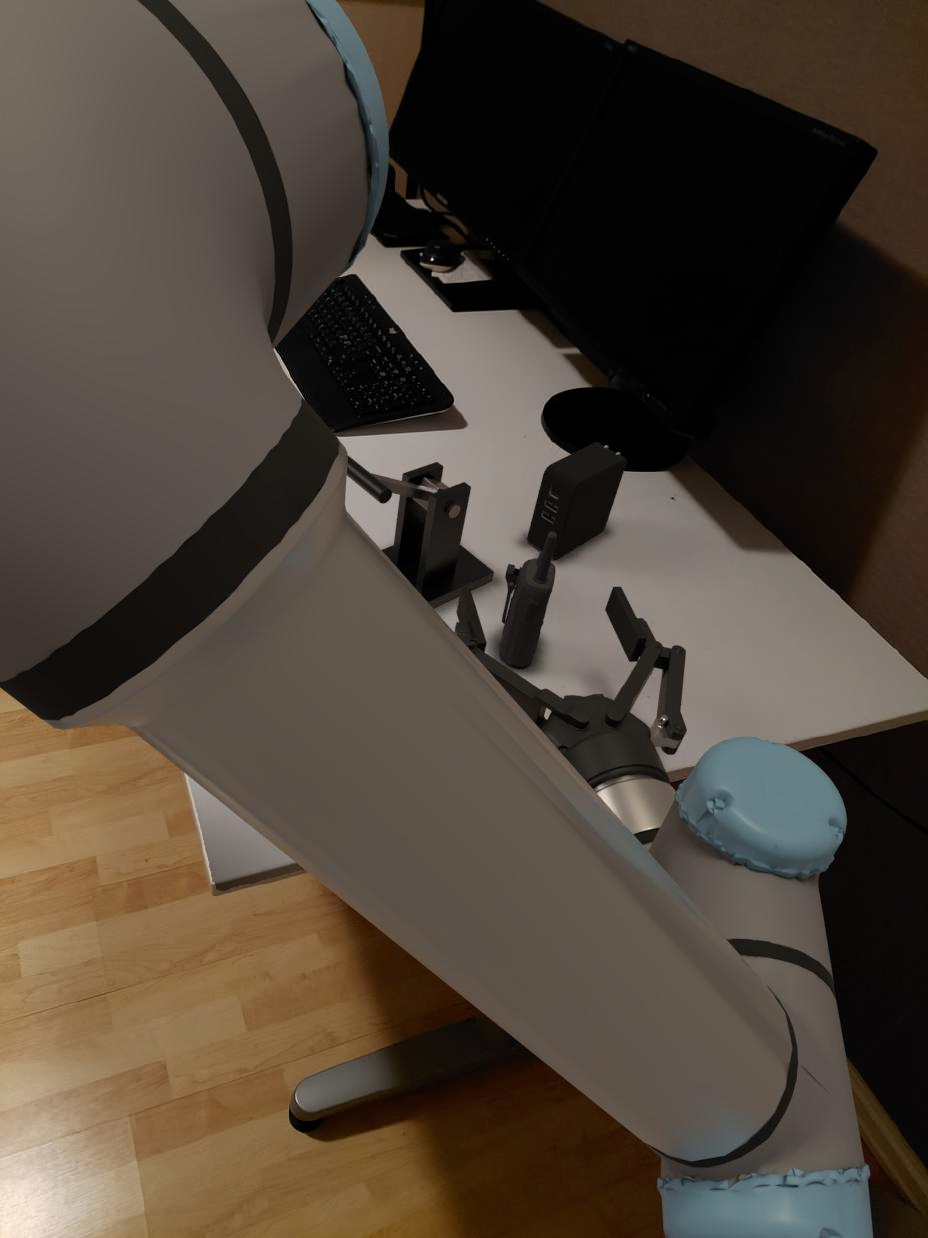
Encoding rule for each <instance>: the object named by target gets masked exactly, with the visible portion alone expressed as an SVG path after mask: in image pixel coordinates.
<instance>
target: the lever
mask: <svg viewBox="0 0 928 1238" xmlns="http://www.w3.org/2000/svg"><path fill="white" fill-rule="evenodd" d="M347 478H349V479H350V480H352V481H353V482H354V483H355V484H357V485H358V486H359V487H360V488H361V489H363V490H364V491H365V492H366V493H367V494H369V495H370V496H371V497H372V498H374V499H375V500H376V501H377V503H379V504H381V505H382V504H383V505H385V504H386V503H389V501H390V500H391V499H392V497H393V494H394V495H398V496H400V495H403V496H407V497H411V498H413V500H415V501H416V502H417V503H418V504H420V505H421V506H422V507H423V508H425V509H426V510H427V509H428V503H429V496H430V494H433V493H436V492H438V491H441V490H444V489H446V488H449V487H450V486H448V485H446V484H445V483H444V482H443V481H441V482H440V481H437V480H433V479H429V478H425V477H424V478H423V480H422V482H421V484H420V485H416V484H412V483H408V482H404V481H402V480H401V479H396V478H392V477H389V476H388V477H387V476H384V475H380V474H376V473H373V472H370V471H369V470H367V469H366V468H365V467H363V466H362V465H361V464H360V463H358V462H357V461H356V460H355V459H353V458H352V457H351V456H350V455H348V461H347Z"/></svg>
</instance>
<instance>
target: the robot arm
mask: <svg viewBox="0 0 928 1238" xmlns="http://www.w3.org/2000/svg"><path fill="white" fill-rule="evenodd" d="M389 160H390V139H389V127H388V118H387V113H386V105H385V102H384V97H383V93H382V90H381V87H380V83H379V80H378V77H377V74H376V70H375V68H374V66H373V62H372V60H371V58H370V56H369V54H368V52H367V49H366V47H365V45H364V43H363V41H362V39H361V38H360V35H359V33H358V32H357V30H356V29H355V27H354V24H353V23H352V22H351V20H350V18H349V17H348V15H347V14H346V13H345V11H344V9H343V8H342V6H341V5H340V4H339V2H338V1H337V0H0V689H1V690H2V691H3V692H5V693H6V694H8V696H10V697H12V699H14V700H15V701H16V702H18V703H19V704H21V705H22V706H23V707H25V708H26V709H27V710H29V712H31V713H32V714H34V715H35V716H37V718H38V719H40V720H42V721H44V722H45V723H47V724H49V726H50V727H52V728H53V729H57V730H74V729H82V728H92V727H103V726H121V727H127V728H128V729H129V730H131V731H132V732H133V733H134V734H136V735H137V737H140V738H141V740H143V741H144V742H145V743H147V744H148V745H149V746H150V747H152V748H153V749H154V750H155V751H157V752H158V753H159V754H160V755H161V756H163V757H164V758H166V759H167V761H169V762H170V763H172V764H173V765H174V766H175V767H177V768H178V769H179V770H180V771H181V772H183V773H184V774H185V775H187V776H188V777H189V778H190V779H192V780H193V781H194V782H195V783H197V784H198V785H199V786H200V787H201V788H203V789H204V790H205V791H206V792H208V793H209V794H210V795H211V796H213V797H214V798H215V799H216V800H217V801H219V802H220V803H221V804H222V805H224V806H225V807H226V808H227V809H229V810H230V811H231V812H232V813H234V814H235V815H236V816H238V818H240V819H241V820H242V821H244V823H246V824H247V825H249V826H250V827H251V828H252V829H254V830H255V831H256V832H257V833H259V834H260V835H261V836H262V837H263V838H265V839H266V840H267V841H268V842H270V843H271V844H273V845H274V847H276V848H277V849H279V850H280V851H281V852H282V853H283V854H285V856H287V857H288V858H290V859H291V860H292V861H294V863H296V864H297V865H299V866H300V867H301V868H302V869H303V870H305V872H307V873H308V874H309V875H311V876H312V877H313V878H314V879H316V880H317V881H318V882H320V883H321V884H322V885H323V886H325V887H326V888H327V889H328V890H330V891H331V892H332V893H333V894H335V895H336V896H337V897H338V898H339V899H340V900H342V901H343V902H344V903H346V904H347V905H349V906H350V907H351V908H352V909H353V910H355V911H356V912H357V913H358V914H359V915H361V916H362V917H363V918H364V919H366V920H367V921H368V922H369V923H371V924H372V925H373V926H374V927H376V928H377V929H378V930H379V931H381V932H382V933H383V934H384V935H386V936H387V937H388V938H389V939H390V940H391V941H392V942H394V943H395V944H397V946H399V947H401V948H402V949H403V950H404V951H405V952H407V954H409V955H410V956H412V957H413V958H414V959H416V960H417V962H419V963H421V965H422V966H424V967H425V968H426V969H428V970H429V971H430V972H431V973H432V974H434V975H435V976H436V977H438V978H439V979H440V980H441V981H443V982H444V983H446V985H448V986H449V987H450V988H452V989H453V990H454V991H455V992H456V993H458V994H459V995H460V996H461V997H462V998H464V999H465V1001H467V1002H469V1003H470V1004H471V1005H473V1006H474V1007H475V1008H476V1009H477V1010H479V1011H480V1012H481V1013H482V1014H484V1015H485V1016H486V1017H488V1018H489V1019H490V1020H491V1021H492V1022H494V1023H495V1024H496V1025H497V1026H499V1027H500V1028H501V1029H503V1030H504V1031H505V1032H506V1033H507V1034H509V1036H511V1037H512V1038H514V1040H516V1041H518V1043H520V1044H521V1045H522V1046H524V1048H526V1049H528V1050H529V1051H530V1052H531V1053H532V1054H534V1055H535V1056H536V1057H537V1058H538V1059H539V1060H541V1061H542V1062H543V1063H544V1064H546V1065H547V1066H548V1067H550V1068H551V1069H552V1070H554V1071H555V1072H556V1074H558V1075H559V1076H561V1077H562V1078H563V1079H565V1080H566V1081H567V1082H568V1083H570V1084H571V1085H572V1086H573V1087H574V1088H576V1089H577V1090H578V1091H579V1092H581V1093H582V1094H583V1095H585V1096H586V1097H587V1098H588V1099H589V1100H591V1101H592V1102H593V1103H595V1104H596V1105H597V1106H598V1107H599V1108H601V1110H603V1111H604V1112H606V1113H607V1114H608V1115H609V1116H610V1117H612V1118H613V1119H614V1120H616V1121H617V1122H618V1123H619V1124H621V1126H623V1127H624V1128H626V1129H627V1130H628V1131H629V1132H630V1133H632V1134H633V1135H634V1136H635V1137H636V1138H638V1139H639V1140H641V1141H642V1142H643V1143H644V1144H645V1145H646V1146H647V1147H648V1148H649V1149H650V1150H652V1151H653V1152H654V1153H655V1154H656V1155H658V1156H659V1157H660V1176H658V1177H657V1181H656V1189H657V1190H658V1192H659V1195H660V1196H661V1207H662V1210H661V1211H662V1225H663V1226H662V1227H663V1233H664V1237H665V1238H874V1231H873V1221H872V1209H871V1200H870V1199H871V1198H870V1189H869V1180H870V1177H871V1171H870V1170H871V1169H870V1166H869V1164H867V1163H866V1162H865V1158H864V1152H863V1146H862V1140H861V1135H860V1134H861V1133H860V1129H859V1123H858V1117H857V1111H856V1106H855V1099H854V1094H853V1088H852V1083H851V1077H850V1072H849V1067H848V1060H847V1055H846V1050H845V1049H846V1048H845V1043H844V1037H843V1032H842V1025H841V1020H840V1015H839V1009H838V1004H837V996H836V991H835V990H836V989H835V981H834V978H833V977H834V975H833V969H832V962H831V955H830V951H829V945H828V938H827V937H828V936H827V932H826V931H827V930H826V926H825V925H826V924H825V918H824V912H823V908H822V907H823V906H822V901H821V894H820V890H819V879H820V874H821V873H824V872H826V871H827V869H829V866H830V865H831V864H832V863H833V861H834V860H835V854H836V852H837V851H838V849H839V847H840V845H842V842H843V840H844V836H845V834H846V831H847V825H848V817H847V811H846V807H845V804H844V801H843V798H842V796H841V794H840V792H839V790H838V789H837V787H836V785H835V784H834V782H833V781H832V779H831V778H830V776H829V775H827V774H826V773H825V772H824V770H823V769H821V767H820V766H819V765H817V764H816V763H815V762H813V761H812V760H811V759H810V758H808V757H807V756H805V755H804V754H803V753H801V752H799V751H797V750H796V749H794V748H793V747H791V746H788V745H786V744H783V743H780V742H775V741H771V740H768V739H762V738H759V737H755V736H754V737H753V736H739V737H732V738H729V739H725V740H722V741H719V742H718V743H716V744H714V745H712V746H711V747H710V748H708V749H707V750H706V751H705V752H704V753H703V754H702V756H701V757H700V758H699V760H698V761H697V763H696V764H695V765H694V767H693V769H692V771H691V772H690V773H689V775H688V776H687V778H686V779H684V780H683V781H682V783H679V785H678V788H677V789H675V788H673V786H672V785H671V780H670V777H669V775H668V772H667V770H666V768H665V765H664V764H663V761H662V759H661V757H660V755H659V753H658V750H657V748H659V747H660V749H661V751H662V752H663V753H664V754H666V755H668V756H673V755H675V754H676V753H677V752H678V750H679V747H680V746H681V744H682V742H683V740H684V738H685V736H686V734H687V731H688V729H687V726H686V723H685V720H684V717H683V714H682V711H681V710H682V709H681V708H682V699H683V690H684V689H683V687H684V678H685V668H686V657H687V650H686V649H685V648H684V647H683V646H681V645H679V644H674V645H672V647H666V646H663V644H662V643H661V641H658V640H657V639H656V638H655V636H654V633H653V631H652V630H651V628H650V626H649V624H648V621H646V620H645V619H644V618H643V617H637V615H636V613H635V611H634V609H633V607H632V605H631V603H630V601H629V599H628V598H627V595H626V593H625V592H624V589H623V587H622V586H612V588H611V591H610V595H609V597H608V599H607V603H606V604H605V605H606V606H605V608H604V611H605V614H606V616H607V618H608V620H609V622H610V624H611V626H612V628H613V630H614V632H615V635H616V637H617V639H618V641H619V644H620V645H621V647H622V649H623V652H624V654H625V656H626V658H627V660H628V662H629V663H635V665H634V666H633V669H632V670H631V672H630V674H629V676H628V677H627V679H626V680H625V682H624V684H623V685H622V686H621V688H620V689H619V691H618V693H617V694H616V696H615V697H614V699H612V698H610V697H607V696H604V694H603V693H592V694H588V695H584V696H583V695H577V694H565V695H564V696H563V697H561V696H560V695H558V694H557V693H555V692H553V691H552V690H550V689H548V688H542V689H540V688H539V687H537V686H536V685H534V684H533V683H531V682H530V681H528V680H527V679H526V678H524V677H523V676H521V675H520V674H518V673H516V672H515V671H514V670H512V669H510V668H509V667H507V666H506V665H504V664H503V663H501V662H500V661H499V660H497V659H495V658H494V657H492V656H491V655H489V654H488V653H486V652H485V651H486V648H487V639H486V635H485V633H484V630H483V626H482V622H481V620H480V616H479V613H478V610H477V607H476V603H475V599H474V597H473V594H472V593H473V592H472V590H470V588H461V592H460V596H458V597H459V598H458V603H457V608H456V611H455V612H456V616H457V621H456V623H455V626H454V630H453V629H452V627H450V626H449V625H448V623H447V622H446V621H445V620H444V619H443V617H442V616H441V615H440V614H439V613H438V612H437V611H436V610H435V609H434V608H432V607H431V606H430V604H429V603H428V602H427V601H426V600H425V599H424V598H423V597H422V595H421V594H420V593H419V592H418V591H417V590H416V589H415V588H414V586H413V585H412V584H411V583H410V582H409V581H408V580H407V578H406V577H405V576H404V575H403V574H402V573H401V572H400V571H399V569H398V568H397V567H396V566H395V565H394V564H393V563H392V562H391V560H390V559H389V558H388V557H387V556H386V555H385V554H384V553H383V551H382V549H381V548H380V547H379V545H377V543H376V542H375V541H374V539H372V538H371V537H370V535H369V534H368V533H367V532H366V531H365V530H364V528H363V527H362V526H360V524H359V523H358V521H356V520H355V518H354V517H353V516H352V515H351V514H350V513H349V512H348V511H347V507H346V492H347V478H348V476H347V461H348V456H349V454H348V451H347V448H346V446H345V445H344V444H343V443H342V442H341V440H340V439H339V438H338V436H337V435H336V434H335V433H334V432H333V431H332V430H331V429H330V427H329V426H328V425H327V424H326V423H325V422H324V421H323V419H322V418H321V417H320V416H319V414H317V412H316V411H315V410H314V409H313V407H312V406H311V405H310V404H309V403H308V402H307V400H306V399H305V398H304V397H303V395H302V394H301V393H300V391H299V390H298V388H297V387H296V386H295V384H294V383H293V382H292V380H291V379H290V377H289V376H288V374H287V373H286V372H285V370H284V369H283V366H282V364H281V362H280V360H279V359H278V355H277V354H276V352H275V348H276V347H277V346H278V345H279V344H280V342H281V341H282V340H283V339H284V338H285V336H287V335H288V333H289V332H290V331H291V329H293V328H294V326H296V324H297V323H298V322H299V321H300V320H301V319H302V317H303V316H304V315H305V314H306V313H307V312H308V310H310V308H311V307H312V306H313V305H314V304H315V302H316V301H317V300H319V298H320V297H321V296H322V295H323V293H324V292H325V291H326V290H327V289H328V288H329V286H330V285H331V284H332V283H333V282H334V281H335V280H336V279H338V278H339V277H341V276H342V275H343V274H345V273H346V272H347V271H349V270H350V268H351V267H352V266H353V265H354V264H355V262H356V259H357V257H358V255H359V254H360V253H361V252H362V251H363V250H364V249H365V247H366V245H367V241H368V238H369V235H370V233H371V231H372V229H373V227H374V225H375V221H376V218H377V216H378V214H379V211H380V209H381V205H382V202H383V200H384V199H383V198H384V196H385V191H386V186H387V181H388V172H389ZM655 669H658V670H661V677H660V683H659V692H658V701H657V708H656V709H657V710H656V718H655V719H654V720H653V723H652V725H651V727H649V726H648V724H646V722H644V721H643V720H642V719H640V718H638V717H637V716H636V715H635V714H633V713H632V712H631V710H632V709H633V707H634V705H635V703H636V702H637V700H638V698H639V696H640V694H641V693H642V691H643V689H644V688H645V686H646V684H647V682H648V680H649V678H650V677H651V676H652V674H653V672H654V670H655ZM547 710H549V711H550V714H549V715H548V717H547V719H546V717H545V715H546V711H547ZM656 747H657V748H656Z"/></svg>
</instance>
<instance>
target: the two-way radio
mask: <svg viewBox="0 0 928 1238" xmlns="http://www.w3.org/2000/svg"><path fill="white" fill-rule="evenodd" d="M556 538H557V535H556V533H555V532H550V533H549V534H548V536H547V539H546V542H545V545H544V548H543V550H541V551H540V553H539V554H538V557H533V558H531V559H528V560H525V561H524V563H523V565H522V566H520V567H519V568H517V567H516V564H512V563H508V564H507V567H506V571H505V575H504V576H505V577H504V578H505V582H506V585H507V593H506V598H505V602H504V607H503V611H502V615H501V623H502V624H503V629H502V636H501V640H500V647H499V648H500V649H499V655H500V657H501V658H502V659H503V660H504V661H505V662H506V663H508V665H512V666H514V667H520V668H521V667H526V666H529V665H530V664H531V662H532V660H533V658H534V657H533V656H534V655H535V653H536V649H537V647H538V642H539V640H540V637H541V630H542V628H543V625H544V620H545V617H546V613H547V607H548V604H549V601H550V597H551V594H552V592H553V589H554V586H555V581H556V580H555V579H556V572H557V571H556V570H557V569H556V566H555V563H553V562H552V559H553V557H552V556H553V551H554V547H555V543H556Z"/></svg>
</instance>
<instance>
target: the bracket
mask: <svg viewBox="0 0 928 1238" xmlns="http://www.w3.org/2000/svg"><path fill="white" fill-rule="evenodd" d="M443 472H444V465H443V464H441V463H440V462H438V461H435V462H432V463H429V464H426V465H423V466H420V467H418V468H414V469H411V470H409V471H406V472H403V473H402V474H401V475H402V476H401V481H404V482H408V483H412V484H416V485H420V484H421V482H422V480H423V478H424V477H425V478H429V479H433V480H437V481H440V482H442V478H443ZM448 487H449V488H446V489H444V490H441V491H438V492H436V493H433V494H430V496H429V503H428V509H427V510H426V509H425V508H423V507H422V506H421V505H420V504H418V503H417V502H416V501H415V500H413V498H411V497H407V496H403V495H399V499H398V505H397V506H398V508H397V515H396V522H395V529H394V530H395V531H394V539H393V544H392V545H390V546H387V547H385V548H382V549H381V550H382V551H383V553H384V554H385V555H386V556H387V557H388V558H389V559H390V560H391V562H392V563H393V564H394V565H395V566H396V567H397V568H398V569H399V571H400V572H401V573H402V574H403V575H404V576H405V577H406V578H407V580H408V581H409V582H410V583H411V584H412V585H413V586H414V588H415V589H416V590H417V591H418V592H419V593H420V594H421V595H422V597H423V598H424V599H425V600H426V601H427V602H428V603H429V604H430V606H431V607H432V608H433V609H434V608H437V607H438V606H441V605H443V604H446V603H447V602H449V601H451V600H453V599H455V598H457V597H460V592H461V588H470V590H471V591H472V590H475V589H477V588H479V587H481V586H483V585H485V584H488V583H490V582H491V581H493V578H494V573H495V571H493V569H491V568H490V567H489V566H487V565H486V564H485V563H484V562H482V560H480V559H479V558H478V557H476V556H475V554H473V553H471V552H470V551H469V550H468V549H466V548H465V547H464V546H463V545H461V542H462V539H463V533H464V527H465V523H466V522H465V520H466V516H467V512H468V506H469V501H470V496H471V492H472V491H471V490H472V485H470V484H468V483H467V482H466V481H463V482H460V483H458V484H455V485H452V486H448Z"/></svg>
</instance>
